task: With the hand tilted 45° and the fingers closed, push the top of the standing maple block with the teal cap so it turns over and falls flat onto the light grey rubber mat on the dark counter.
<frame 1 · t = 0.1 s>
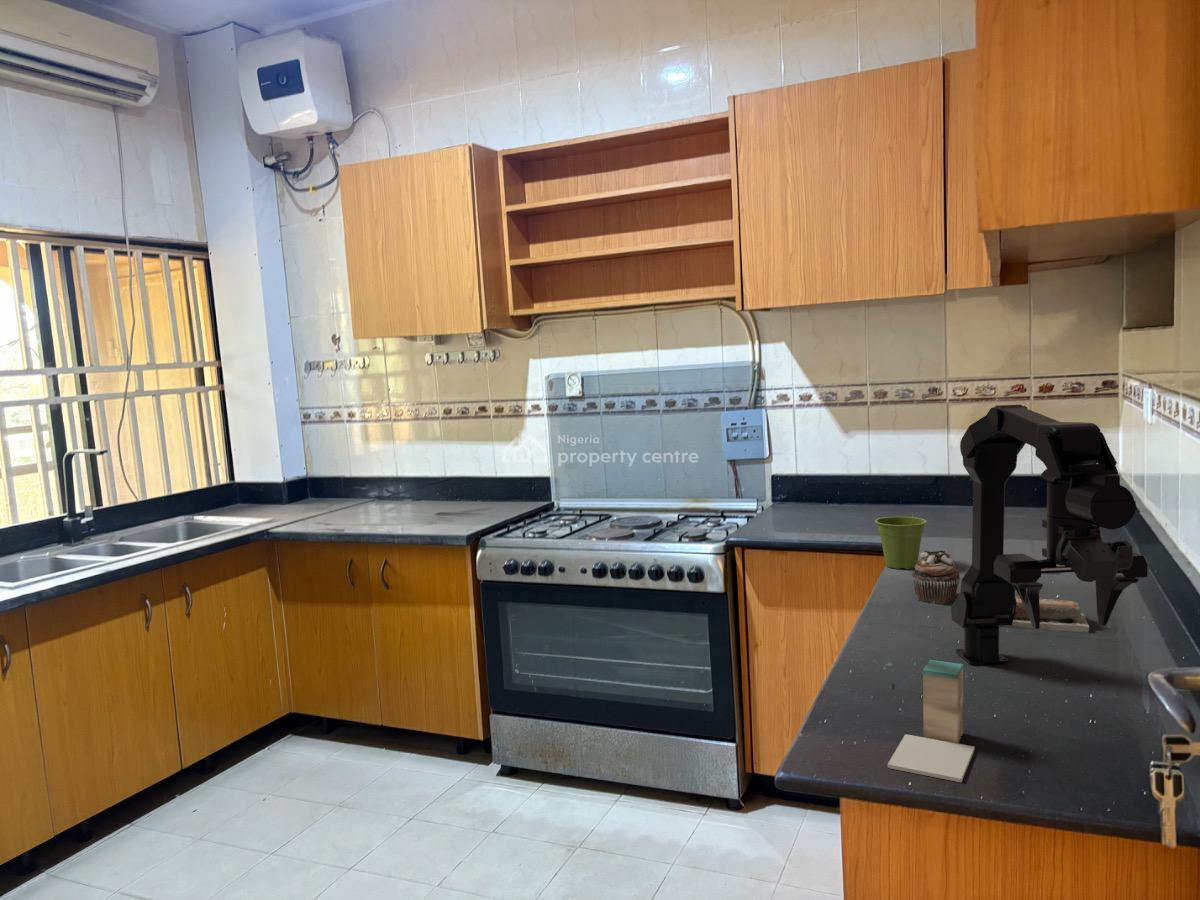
hand: (1069, 626, 124), 15 cm above the countertop, tool pointing down, fingers open, 9 cm apart
cupcake: (935, 599, 189), on the countertop
plant pot: (901, 566, 217), on the countertop
mat: (931, 758, 118), on the countertop
stepped brick: (1034, 624, 172), on the countertop
block: (943, 736, 125), on the countertop
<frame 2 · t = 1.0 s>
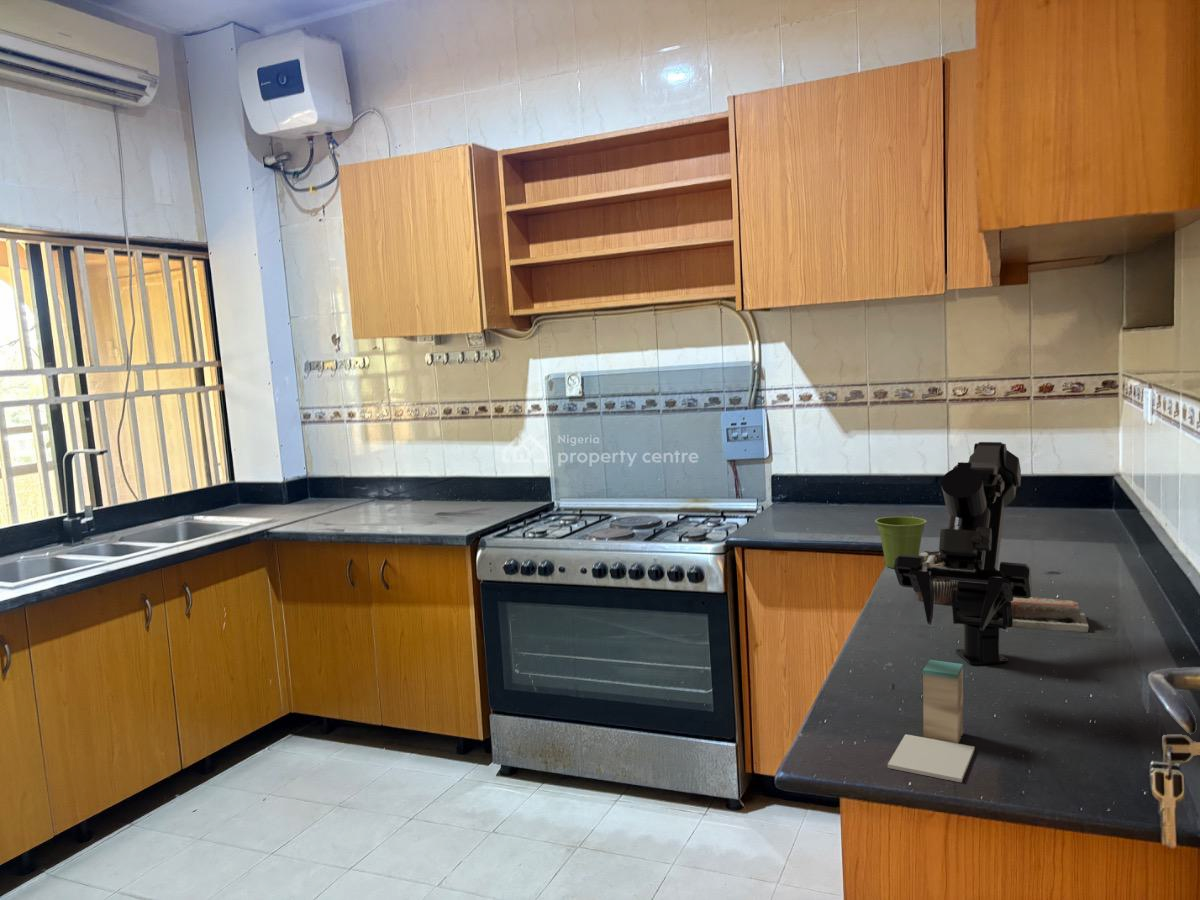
hand: (954, 626, 130), 13 cm above the countertop, tool tilted 45°, fingers open, 7 cm apart
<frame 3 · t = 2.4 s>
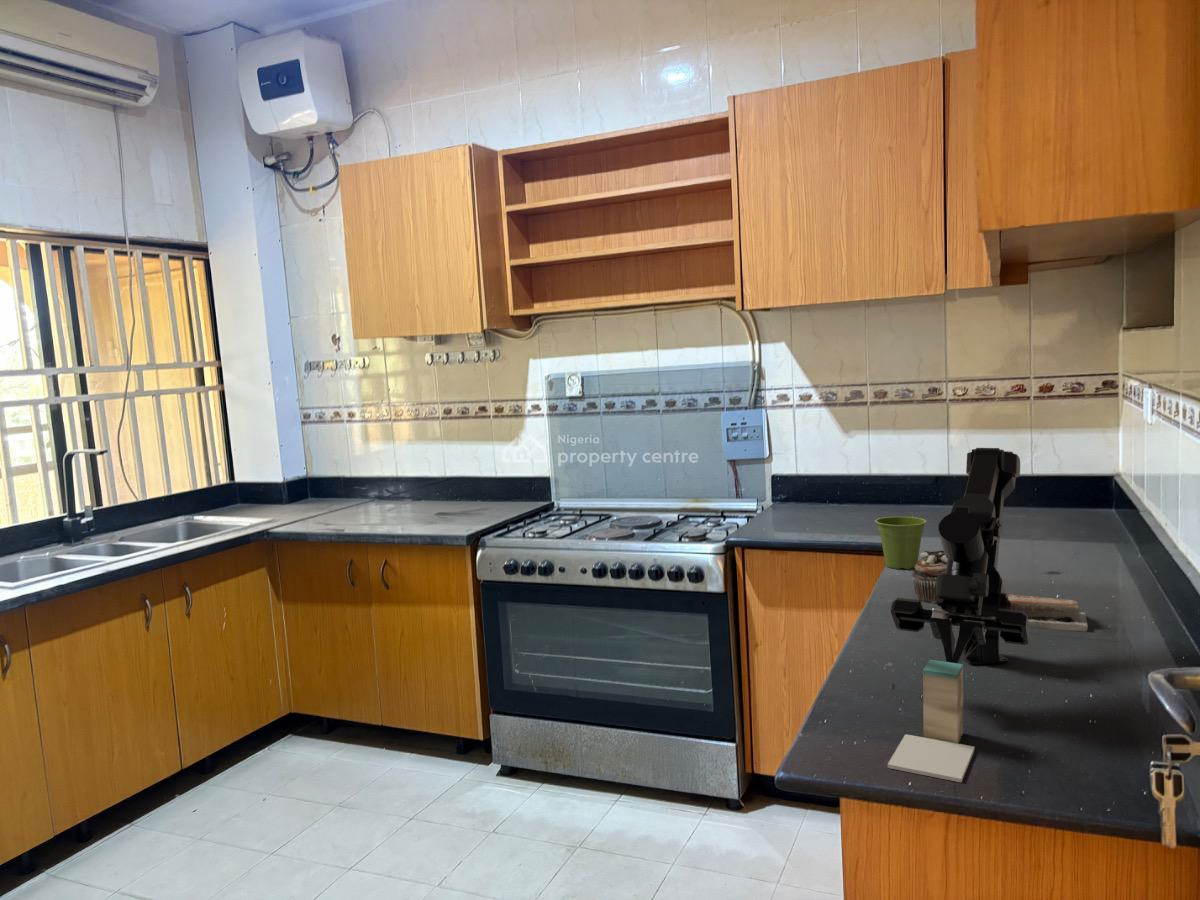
hand: (951, 672, 129), 7 cm above the countertop, tool tilted 45°, fingers closed
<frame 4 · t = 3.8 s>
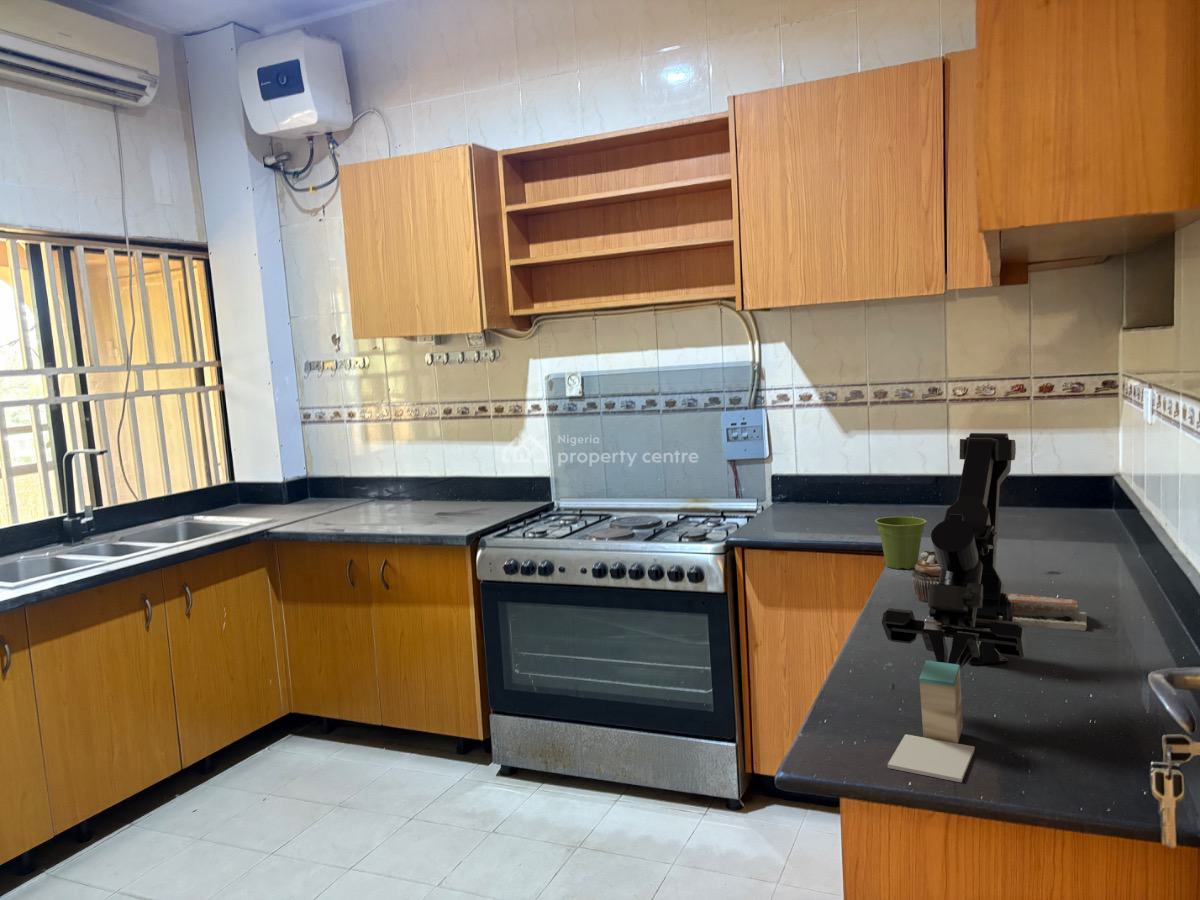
hand: (944, 686, 125), 7 cm above the countertop, tool tilted 45°, fingers closed
block: (943, 732, 125), point 1 cm above the countertop, tilted 14°
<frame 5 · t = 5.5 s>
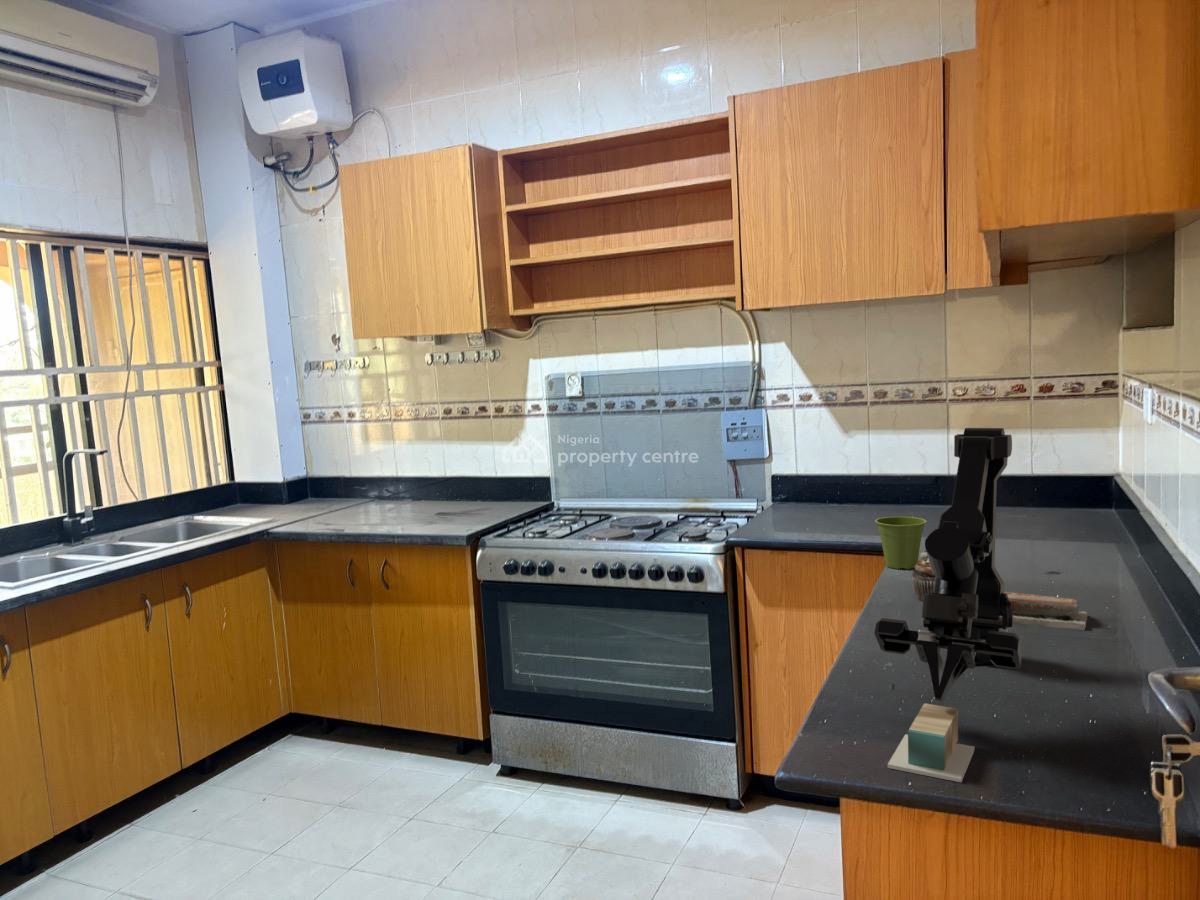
hand: (938, 699, 121), 7 cm above the countertop, tool tilted 45°, fingers closed
block: (941, 721, 123), point 3 cm above the countertop, tilted 90°, touching mat
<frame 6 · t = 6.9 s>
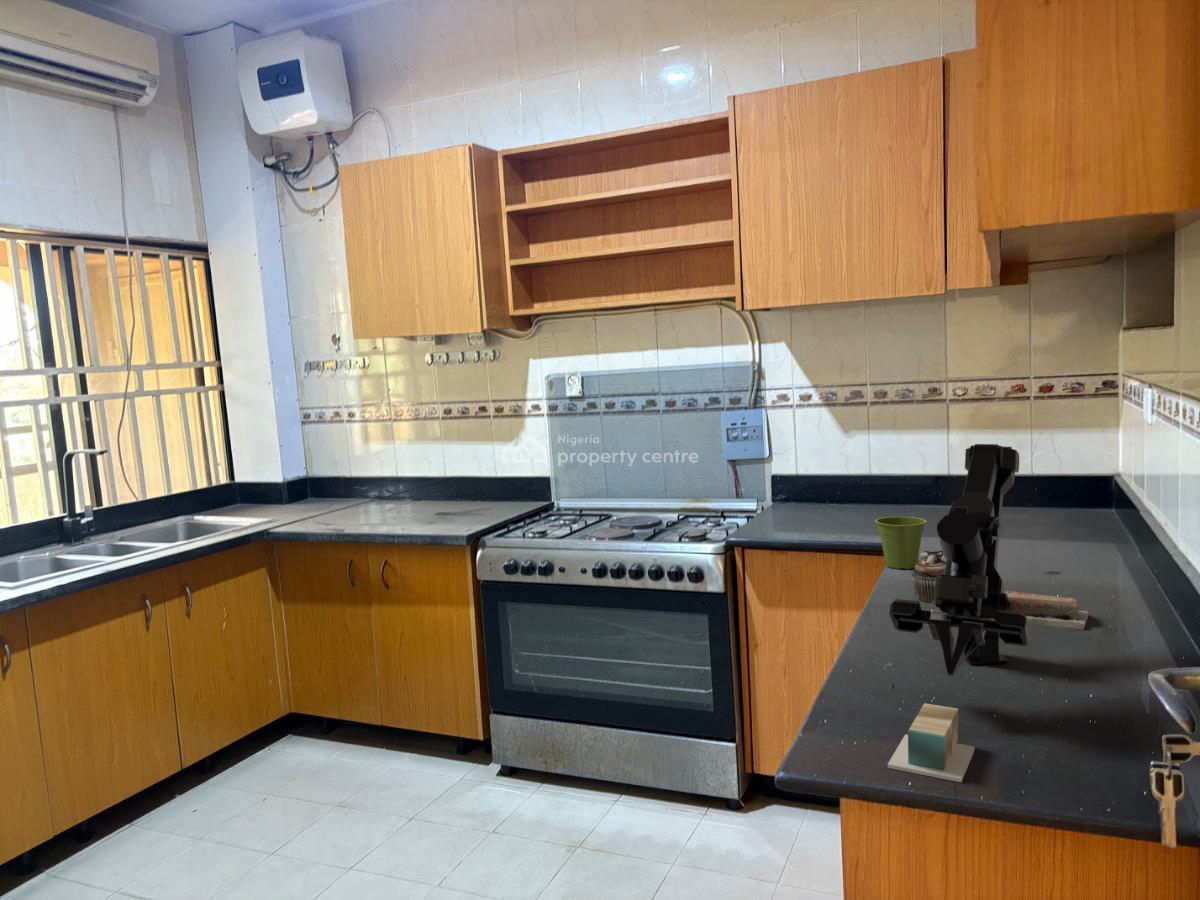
hand: (950, 674, 129), 7 cm above the countertop, tool tilted 45°, fingers closed
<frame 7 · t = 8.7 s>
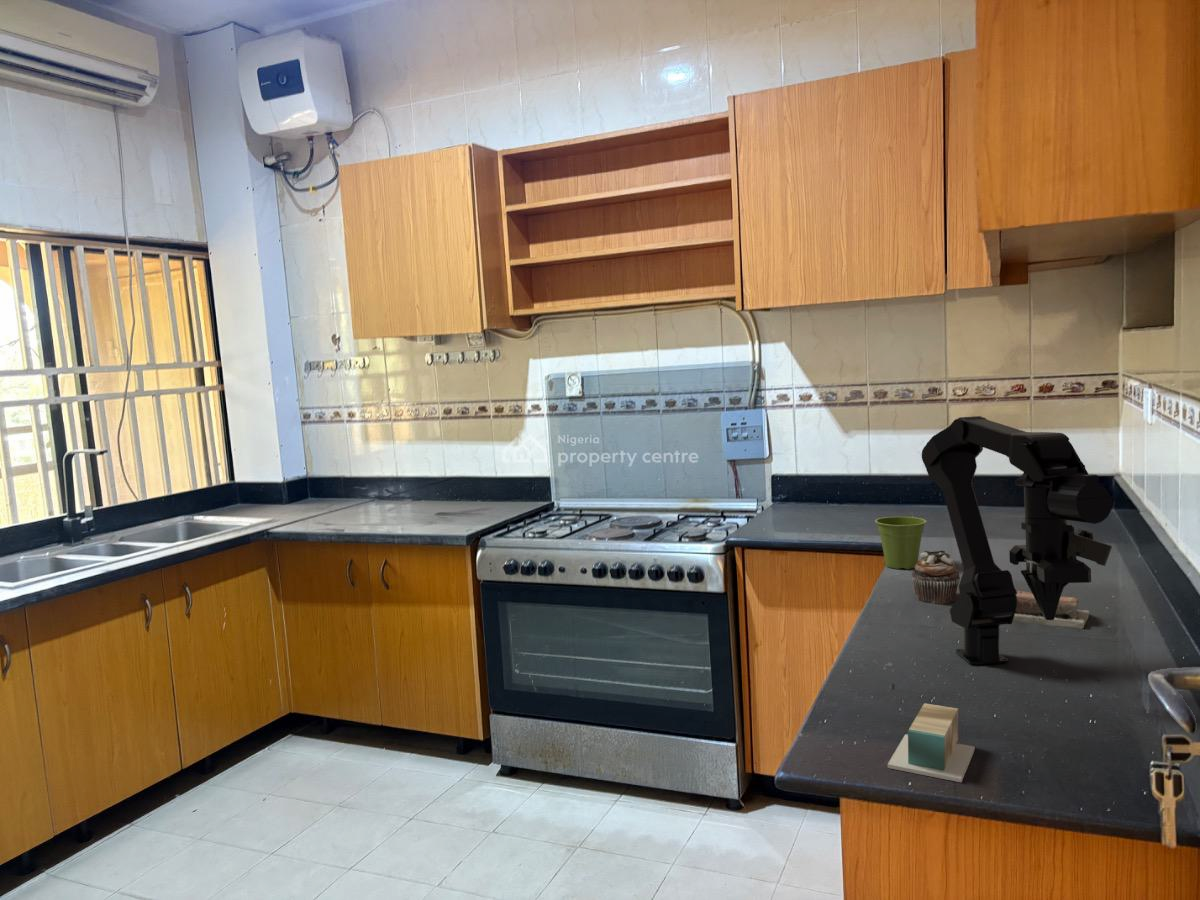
hand: (1049, 619, 135), 12 cm above the countertop, tool pointing down, fingers closed
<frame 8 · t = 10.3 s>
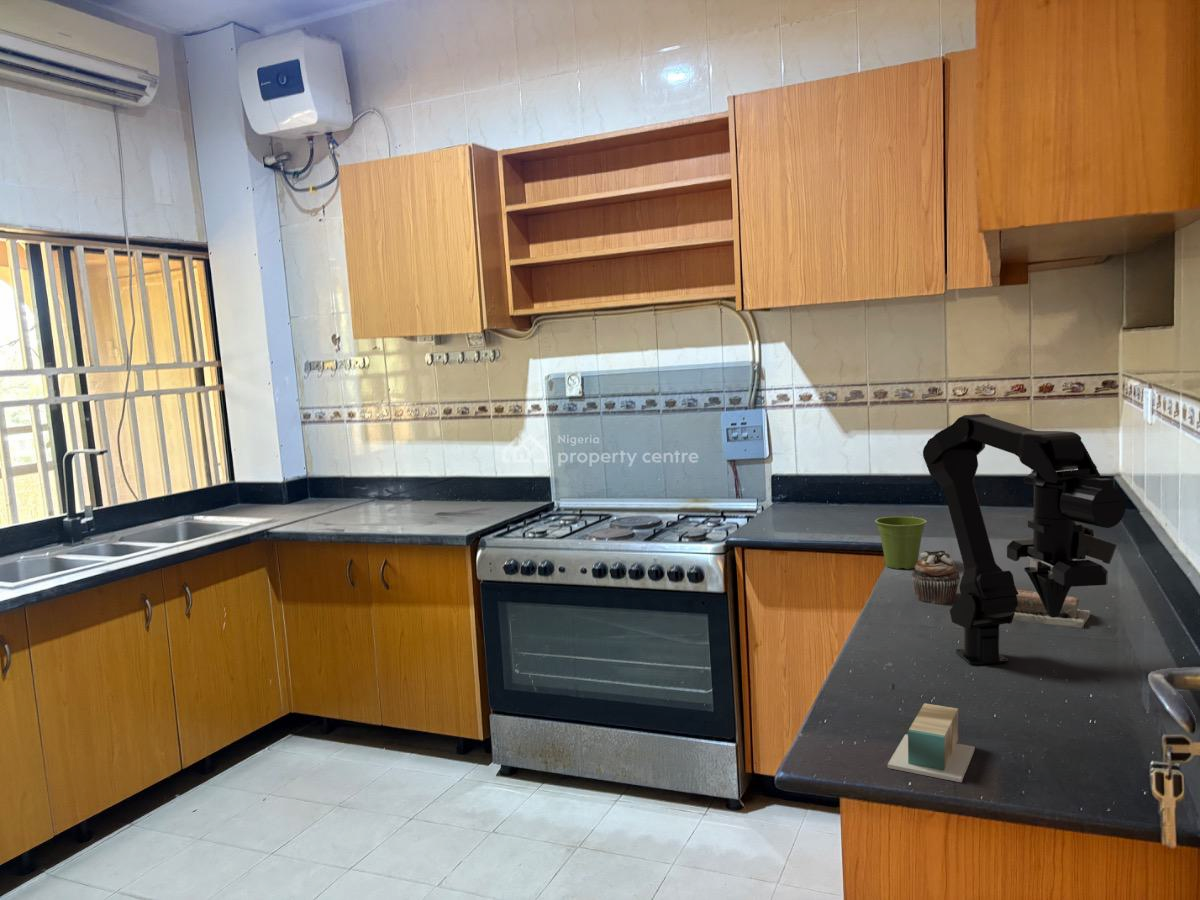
hand: (1053, 616, 136), 12 cm above the countertop, tool pointing down, fingers closed
at the end: block tilted 90°; block inside the target area (4.2 cm from its centre), point 2.7 cm above the countertop; the gripper is holding nothing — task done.
